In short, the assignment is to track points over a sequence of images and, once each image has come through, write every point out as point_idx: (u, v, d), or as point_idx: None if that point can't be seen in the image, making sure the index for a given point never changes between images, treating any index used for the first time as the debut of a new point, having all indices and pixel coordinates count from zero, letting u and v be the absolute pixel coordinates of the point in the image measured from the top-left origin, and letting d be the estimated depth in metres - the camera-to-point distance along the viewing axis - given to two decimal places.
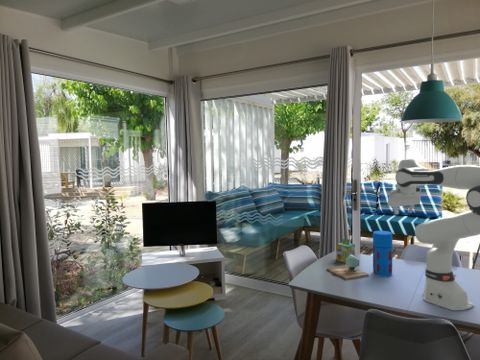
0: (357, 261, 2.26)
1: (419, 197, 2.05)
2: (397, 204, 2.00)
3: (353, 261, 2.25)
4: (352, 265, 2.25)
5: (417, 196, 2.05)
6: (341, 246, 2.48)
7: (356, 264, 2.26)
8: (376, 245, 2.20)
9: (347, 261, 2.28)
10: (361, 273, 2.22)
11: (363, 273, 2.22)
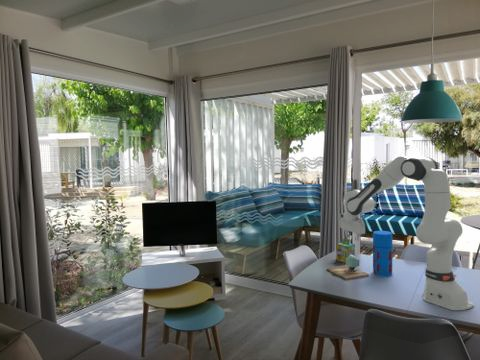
0: (357, 261, 2.26)
1: None
2: None
3: (353, 261, 2.25)
4: (352, 265, 2.25)
5: None
6: (341, 246, 2.48)
7: (356, 264, 2.26)
8: (376, 245, 2.20)
9: (347, 261, 2.28)
10: (361, 273, 2.22)
11: (363, 273, 2.22)
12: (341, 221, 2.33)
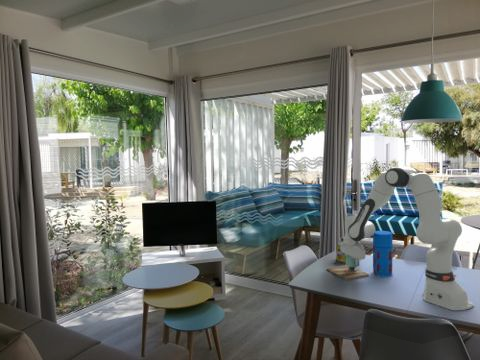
0: None
1: None
2: None
3: (353, 261, 2.25)
4: (352, 265, 2.25)
5: None
6: None
7: None
8: (376, 245, 2.20)
9: (347, 261, 2.28)
10: (361, 273, 2.22)
11: (363, 273, 2.22)
12: (341, 245, 2.34)
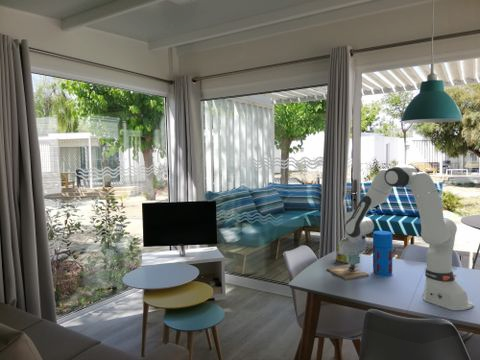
0: (351, 259, 2.25)
1: (365, 244, 2.30)
2: (347, 252, 2.23)
3: None
4: (347, 260, 2.28)
5: (363, 243, 2.29)
6: None
7: (350, 261, 2.25)
8: (376, 245, 2.20)
9: None
10: (361, 273, 2.22)
11: (363, 273, 2.22)
12: None
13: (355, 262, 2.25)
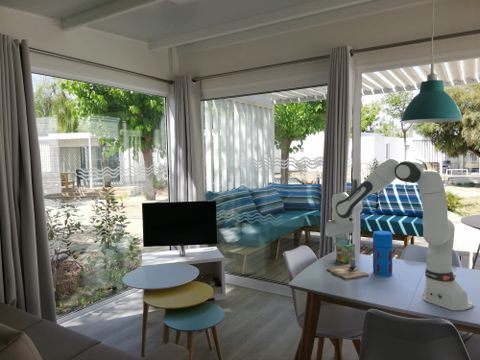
0: (338, 241, 2.21)
1: (352, 226, 2.26)
2: (333, 234, 2.19)
3: None
4: (334, 243, 2.24)
5: (350, 225, 2.25)
6: None
7: (337, 244, 2.22)
8: (376, 245, 2.20)
9: None
10: (361, 273, 2.22)
11: (363, 273, 2.22)
12: None
13: (342, 244, 2.21)
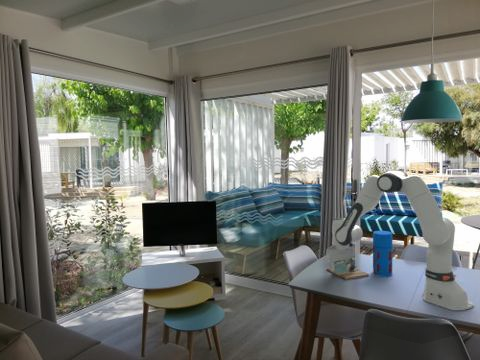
0: (338, 268, 2.22)
1: (352, 251, 2.27)
2: (334, 260, 2.20)
3: None
4: (334, 269, 2.25)
5: (351, 250, 2.26)
6: None
7: (338, 270, 2.23)
8: (376, 245, 2.20)
9: None
10: (361, 273, 2.22)
11: (363, 273, 2.22)
12: None
13: (342, 271, 2.22)
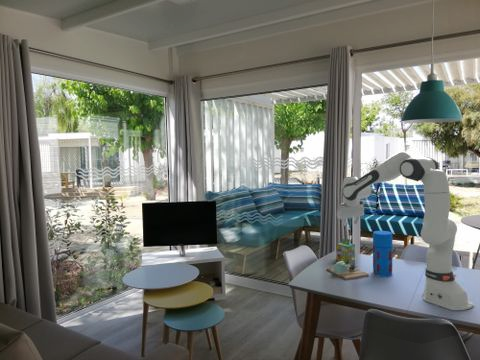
0: (338, 268, 2.22)
1: (362, 209, 2.33)
2: (345, 216, 2.26)
3: (335, 266, 2.25)
4: (334, 269, 2.25)
5: (361, 209, 2.33)
6: (341, 246, 2.48)
7: (338, 270, 2.23)
8: (376, 245, 2.20)
9: None
10: (361, 273, 2.22)
11: (363, 273, 2.22)
12: None
13: (342, 271, 2.22)
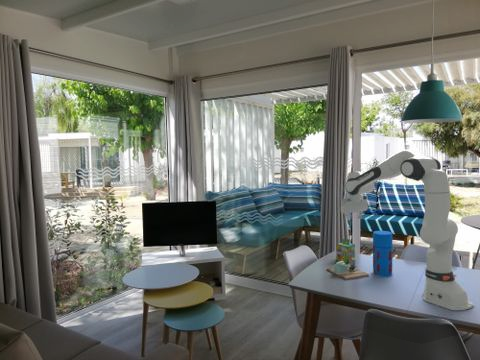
0: (338, 268, 2.22)
1: (366, 204, 2.35)
2: (349, 211, 2.28)
3: (335, 266, 2.25)
4: (334, 269, 2.25)
5: (364, 203, 2.35)
6: (341, 246, 2.48)
7: (338, 270, 2.23)
8: (376, 245, 2.20)
9: None
10: (361, 273, 2.22)
11: (363, 273, 2.22)
12: None
13: (342, 271, 2.22)
